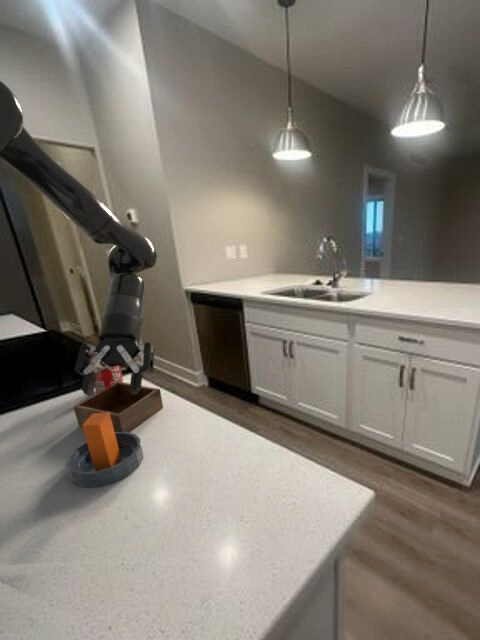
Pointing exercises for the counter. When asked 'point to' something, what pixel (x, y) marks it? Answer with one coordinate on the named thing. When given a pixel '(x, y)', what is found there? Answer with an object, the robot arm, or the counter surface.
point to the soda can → (107, 376)
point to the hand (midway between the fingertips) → (110, 394)
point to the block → (101, 441)
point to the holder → (121, 406)
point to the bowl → (86, 475)
